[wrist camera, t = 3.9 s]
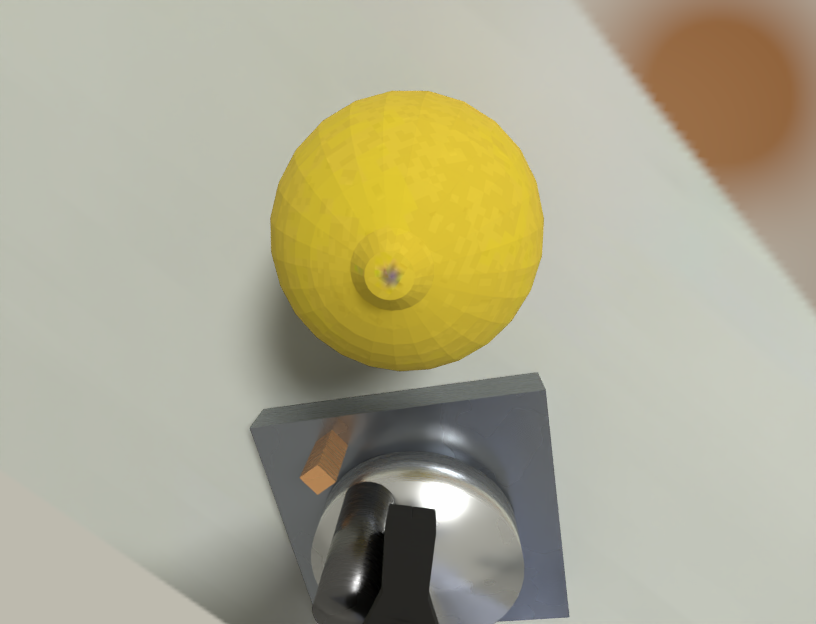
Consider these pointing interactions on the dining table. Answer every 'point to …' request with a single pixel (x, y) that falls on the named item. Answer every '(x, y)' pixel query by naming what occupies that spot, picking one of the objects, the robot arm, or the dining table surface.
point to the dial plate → (431, 432)
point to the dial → (454, 545)
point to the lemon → (407, 230)
